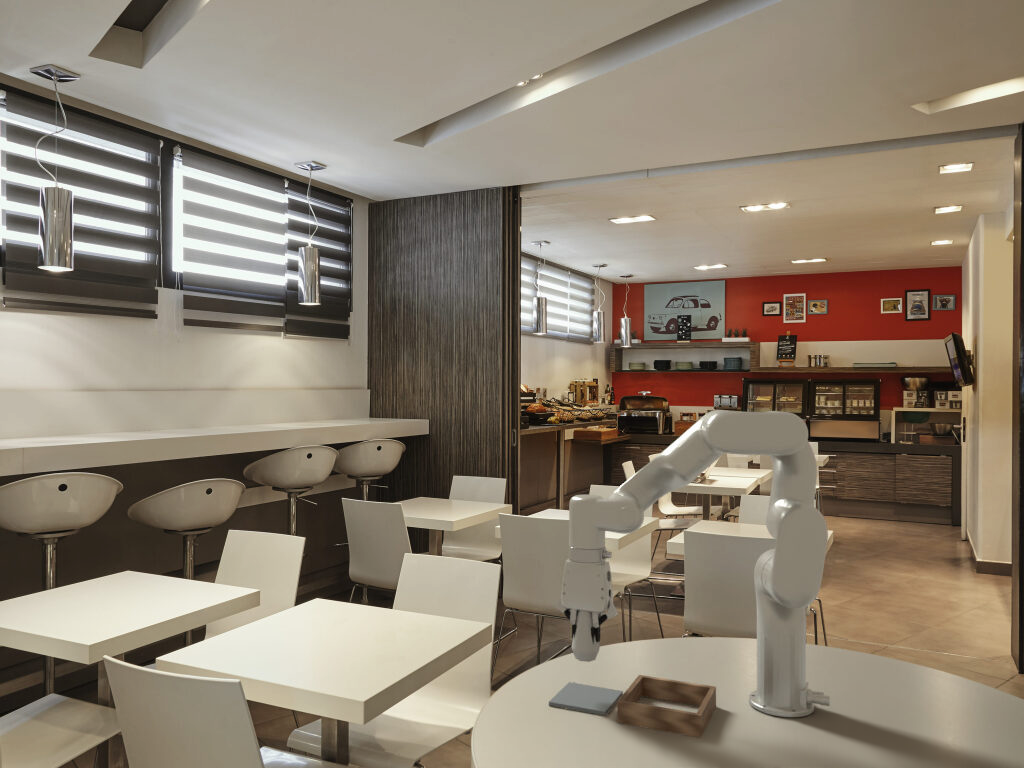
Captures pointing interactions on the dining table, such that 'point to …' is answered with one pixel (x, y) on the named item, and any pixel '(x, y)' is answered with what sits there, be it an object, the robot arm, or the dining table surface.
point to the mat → (586, 698)
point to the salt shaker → (584, 638)
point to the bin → (666, 717)
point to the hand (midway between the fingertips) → (586, 643)
